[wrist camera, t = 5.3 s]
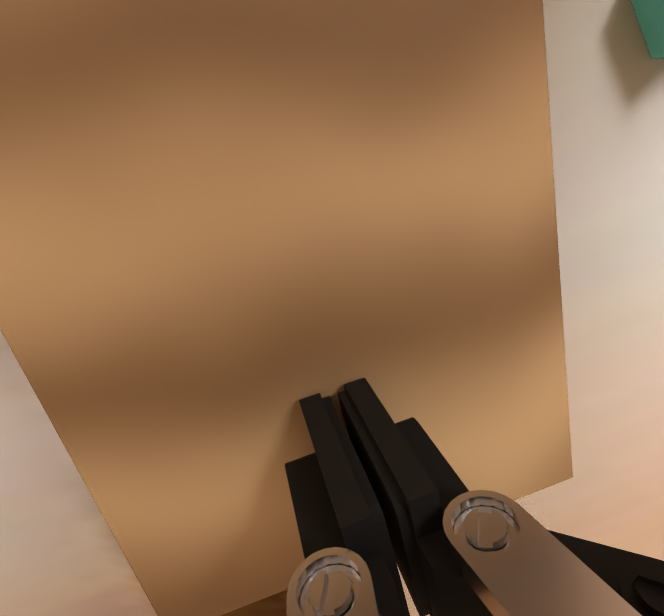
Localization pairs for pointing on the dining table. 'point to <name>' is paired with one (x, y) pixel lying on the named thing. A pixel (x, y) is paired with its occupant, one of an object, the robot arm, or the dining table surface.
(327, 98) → the oak plank
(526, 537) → the robot arm
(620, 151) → the dining table surface
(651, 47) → the alien figure
